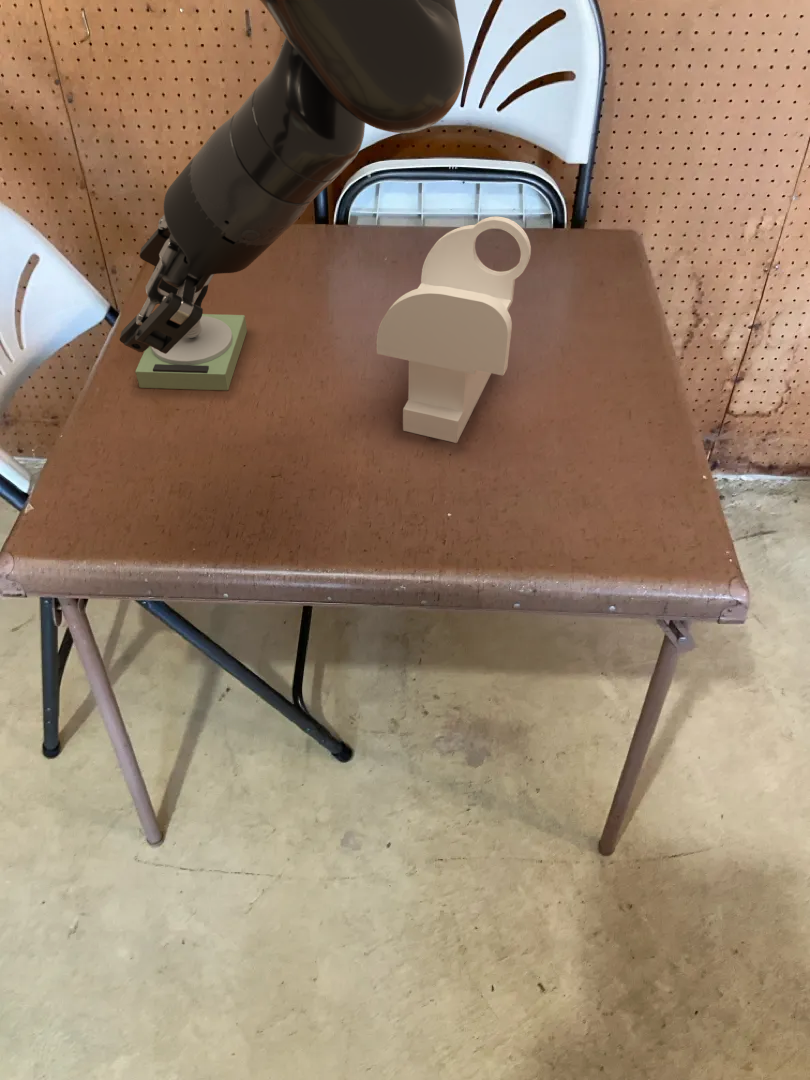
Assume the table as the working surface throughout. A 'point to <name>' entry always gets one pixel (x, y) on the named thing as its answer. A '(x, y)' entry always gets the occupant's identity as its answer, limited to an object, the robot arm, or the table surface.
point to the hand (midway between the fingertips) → (141, 301)
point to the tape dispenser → (453, 330)
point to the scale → (197, 357)
